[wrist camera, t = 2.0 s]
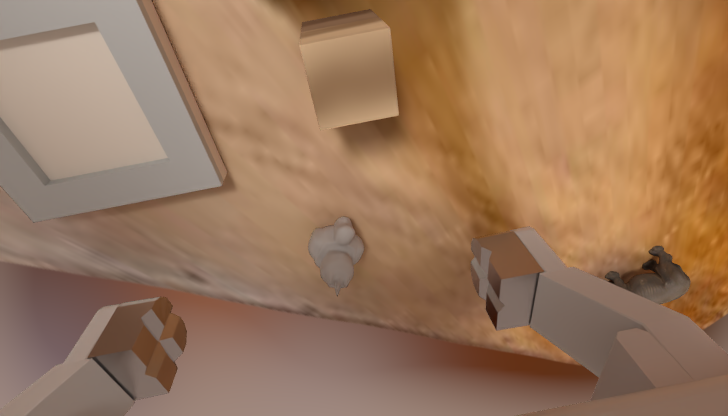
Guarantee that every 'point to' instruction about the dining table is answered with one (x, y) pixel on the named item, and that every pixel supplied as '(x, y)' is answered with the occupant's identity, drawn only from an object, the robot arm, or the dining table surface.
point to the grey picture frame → (96, 109)
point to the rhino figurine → (656, 279)
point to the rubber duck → (336, 252)
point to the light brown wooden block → (349, 68)
